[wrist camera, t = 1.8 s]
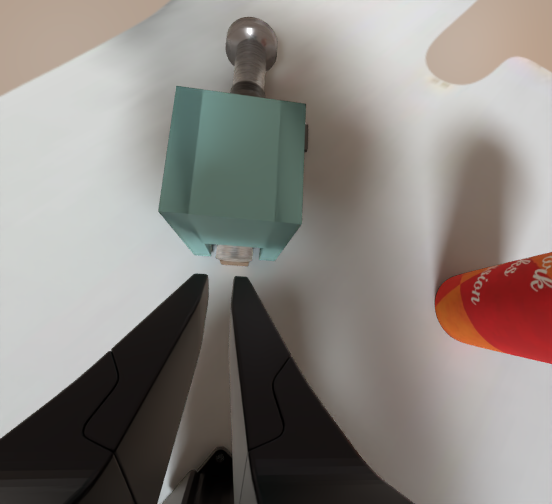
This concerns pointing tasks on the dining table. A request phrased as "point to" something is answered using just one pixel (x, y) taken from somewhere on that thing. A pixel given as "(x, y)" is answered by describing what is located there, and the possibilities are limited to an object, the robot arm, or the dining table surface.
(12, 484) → the robot arm
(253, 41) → the pipe rig
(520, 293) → the paper cup
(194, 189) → the teal notched block
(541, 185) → the dining table surface
